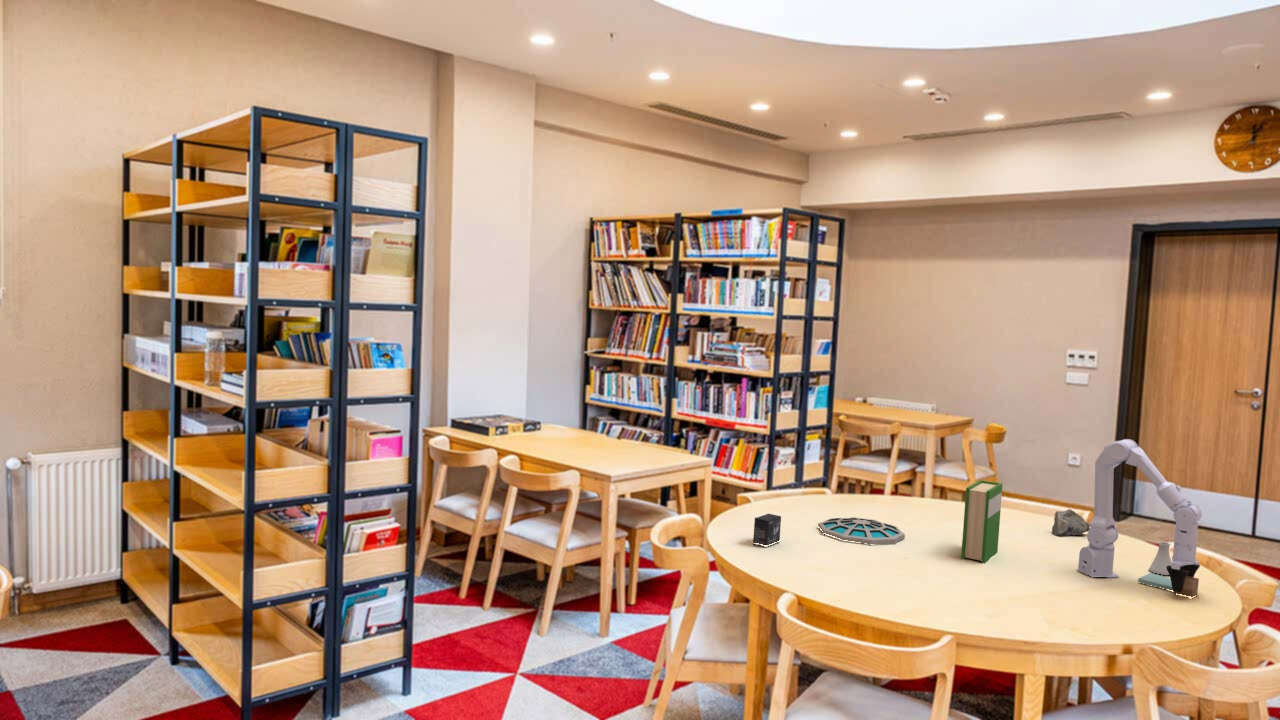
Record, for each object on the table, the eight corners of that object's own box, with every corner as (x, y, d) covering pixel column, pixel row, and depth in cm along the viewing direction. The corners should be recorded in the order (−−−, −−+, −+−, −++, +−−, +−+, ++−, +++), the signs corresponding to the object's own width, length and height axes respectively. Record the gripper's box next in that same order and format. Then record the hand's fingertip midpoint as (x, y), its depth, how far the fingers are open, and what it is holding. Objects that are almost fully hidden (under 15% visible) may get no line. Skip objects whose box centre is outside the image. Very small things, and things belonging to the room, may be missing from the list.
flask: (1162, 577, 273) (1164, 546, 272) (1143, 570, 280) (1146, 540, 279) (1180, 576, 275) (1182, 545, 274) (1161, 569, 282) (1163, 539, 281)
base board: (1173, 592, 258) (1174, 587, 258) (1137, 583, 265) (1138, 578, 265) (1185, 586, 264) (1185, 581, 264) (1149, 577, 272) (1150, 572, 272)
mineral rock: (1089, 535, 324) (1091, 509, 323) (1090, 541, 314) (1092, 514, 313) (1051, 529, 329) (1053, 504, 329) (1051, 536, 320) (1053, 509, 319)
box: (767, 548, 286) (768, 520, 285) (752, 545, 289) (753, 517, 288) (780, 543, 293) (781, 515, 292) (765, 539, 296) (767, 512, 296)
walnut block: (1191, 599, 252) (1193, 581, 252) (1174, 595, 256) (1176, 577, 255) (1197, 596, 255) (1198, 578, 255) (1180, 592, 258) (1181, 574, 258)
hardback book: (984, 563, 279) (989, 491, 278) (961, 559, 283) (966, 487, 282) (997, 552, 293) (1002, 483, 292) (975, 548, 298) (979, 480, 296)
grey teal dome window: (913, 548, 295) (914, 534, 294) (828, 544, 295) (829, 530, 295) (889, 525, 325) (890, 512, 325) (812, 522, 326) (813, 509, 326)
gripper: (1192, 551, 248) (1188, 597, 248) (1208, 543, 257) (1204, 588, 258) (1165, 545, 253) (1161, 590, 254) (1182, 538, 262) (1178, 581, 263)
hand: (1181, 588), depth 256 cm, fingers open, 7 cm apart
